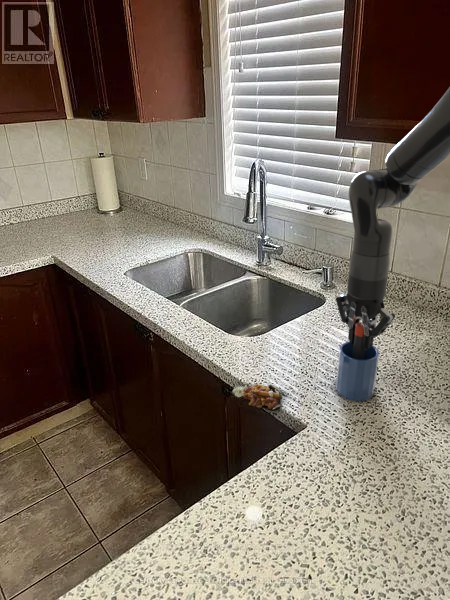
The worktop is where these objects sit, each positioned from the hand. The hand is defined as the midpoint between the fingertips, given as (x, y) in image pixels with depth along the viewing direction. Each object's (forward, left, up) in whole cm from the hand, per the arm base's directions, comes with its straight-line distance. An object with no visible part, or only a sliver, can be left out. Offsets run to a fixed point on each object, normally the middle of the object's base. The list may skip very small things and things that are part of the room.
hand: (359, 345), depth 97 cm
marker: (0, 0, -6) cm, 6 cm away
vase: (0, 0, -12) cm, 12 cm away
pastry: (+12, +19, -13) cm, 26 cm away
